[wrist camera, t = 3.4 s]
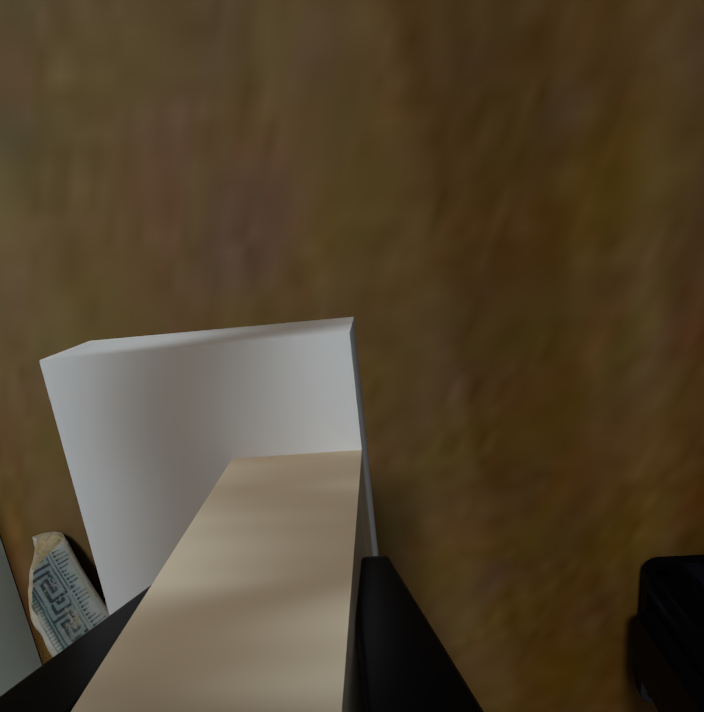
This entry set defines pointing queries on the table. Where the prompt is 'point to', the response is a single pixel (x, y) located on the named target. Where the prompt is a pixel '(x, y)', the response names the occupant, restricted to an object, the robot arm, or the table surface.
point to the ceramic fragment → (61, 594)
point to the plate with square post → (223, 513)
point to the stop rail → (13, 633)
